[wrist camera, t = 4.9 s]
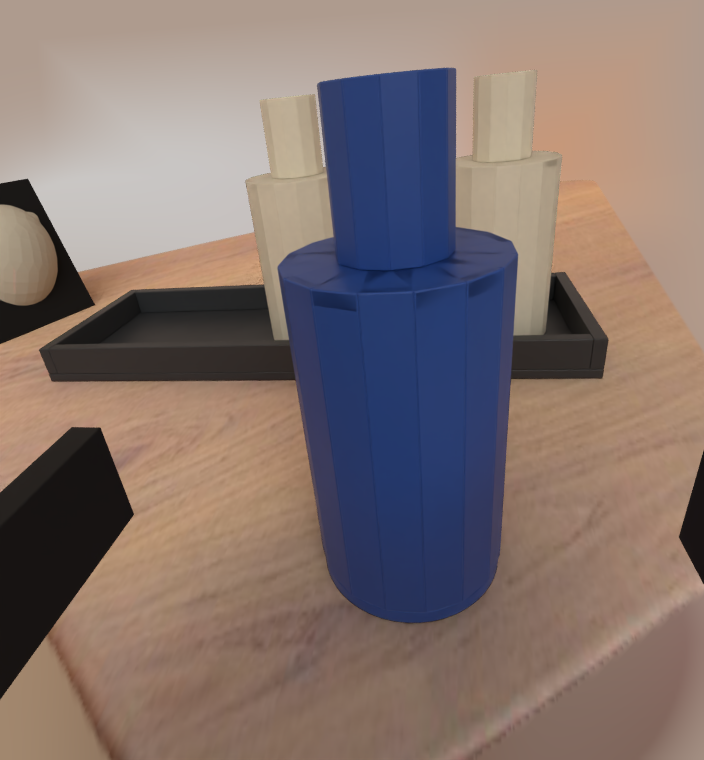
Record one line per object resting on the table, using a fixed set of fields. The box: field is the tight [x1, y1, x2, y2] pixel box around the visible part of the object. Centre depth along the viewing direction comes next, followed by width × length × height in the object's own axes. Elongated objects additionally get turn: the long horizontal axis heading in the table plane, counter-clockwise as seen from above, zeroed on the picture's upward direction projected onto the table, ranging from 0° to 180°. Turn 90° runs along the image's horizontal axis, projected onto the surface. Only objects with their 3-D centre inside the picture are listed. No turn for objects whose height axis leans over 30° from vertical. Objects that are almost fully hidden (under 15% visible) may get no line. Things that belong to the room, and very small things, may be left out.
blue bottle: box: [277, 68, 518, 623], centre depth 17 cm, size 7×7×16 cm
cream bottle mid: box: [246, 94, 334, 340], centre depth 36 cm, size 7×7×16 cm
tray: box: [39, 272, 608, 381], centre depth 39 cm, size 38×13×3 cm, turn 81°
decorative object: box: [0, 179, 95, 344], centre depth 49 cm, size 13×10×10 cm
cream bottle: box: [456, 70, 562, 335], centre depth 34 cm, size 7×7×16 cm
